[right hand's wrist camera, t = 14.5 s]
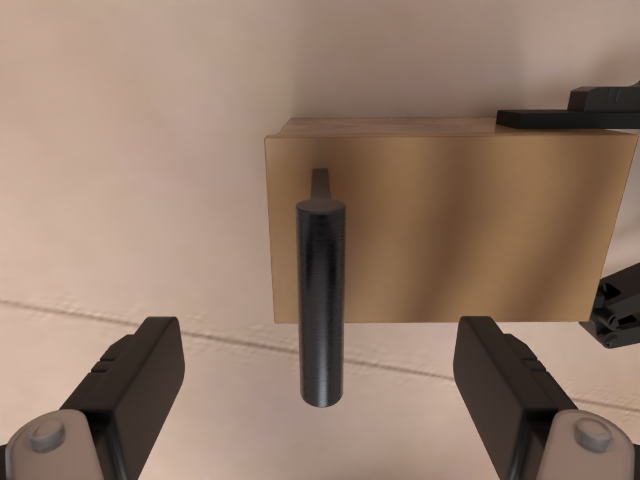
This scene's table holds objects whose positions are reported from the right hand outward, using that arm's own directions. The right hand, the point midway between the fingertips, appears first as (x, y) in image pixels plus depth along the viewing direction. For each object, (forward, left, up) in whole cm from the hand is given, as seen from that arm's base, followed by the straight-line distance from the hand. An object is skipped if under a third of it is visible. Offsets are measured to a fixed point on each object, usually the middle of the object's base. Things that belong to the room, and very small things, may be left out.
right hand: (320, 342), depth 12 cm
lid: (+1, +6, -9) cm, 10 cm away
